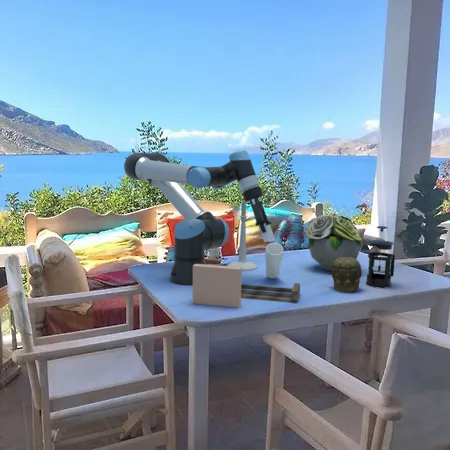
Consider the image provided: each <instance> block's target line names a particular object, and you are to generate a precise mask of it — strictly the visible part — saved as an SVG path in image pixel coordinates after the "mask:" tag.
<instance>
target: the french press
mask: <svg viewBox="0 0 450 450" xmlns="http://www.w3.org/2000/svg"><path fill="white" fill-rule="evenodd" d="M376 229H380V232H381V234H380V239H375V240H374V239H372V240H369V241H368V243H369V247H374V246H375V247H377V248H378V249H379V252H377V251H373V252H369V253H368V254H367V255H368V256H367V259H368V258H369V259H368V268H367V269H368V271H367V273H368V274H366V281H365V284H366V285H367V286H368V285H369V287H371V286H373V288H376V287H379V289H385V288H384V287H388V288H391V286H392V284H391V283H392V282H391V280H392V277H394V274H395V262H396V259H395V258H396V254H394V253H389V252H388V253H387V252H382V250H383V251H389V250H392V249H393V245H394V242H393V241H389V240H383V233H384V229H389V228H388V226H383V225H382V226H381V225H380V226H379V225H378V226H376ZM375 261H378V262H379V263H378V265H375ZM381 261H384V262H385V263H384V265H385V266H381ZM380 287H381V288H380Z"/></svg>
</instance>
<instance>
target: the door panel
mask: <svg viewBox="0 0 450 450" xmlns="http://www.w3.org/2000/svg"><path fill="white" fill-rule="evenodd" d="M205 264H206V263H205ZM205 264H195V265H193V284H192V304H194V303H198V304H197V305H205V304H206V305H207V306H217V307H218V306H219V307H228V308H238V309H239V308H240V307H241V305H242V298H241V284H242V277H243V276H242V275H243V274H242V272H243V271H242V267H232V266H228V265H215V264H206V265H205ZM206 305H205V306H206Z"/></svg>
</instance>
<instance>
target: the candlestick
mask: <svg viewBox="0 0 450 450" xmlns="http://www.w3.org/2000/svg"><path fill="white" fill-rule="evenodd" d="M240 203H241V206H240V207H241V208H240V209H241V210H240V212H241V214H240V215H239V217H240V222H241V224H240V235H239V245H238V249H239V250H238V259H237V260H235V261H232V262H230V263H228V264H227V266H232V267H242V272H249V271H254V270H257V268H258V266H257V264H255V263H254V262H252V261H248V260H247V235H246V234H247V231H246V221H247V217H248V215H246V213H247V202H246V201H245V200H241V202H240Z"/></svg>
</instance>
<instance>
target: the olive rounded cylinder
mask: <svg viewBox="0 0 450 450" xmlns="http://www.w3.org/2000/svg"><path fill="white" fill-rule="evenodd" d="M361 267H362V266H361V264H360V261H359V260H358V259H355V258H351V257H347V258H346V257H343V258H342V257H340V258H337V259H336V260H335V261H334V262H333V264H332V269H331V271H330V273H331V278H332V280H333V288H334V291H339V292H341V293H342V292H343V293H355V292H356V291H358V289H359V287H360V280H361V277H362V268H361Z"/></svg>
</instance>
